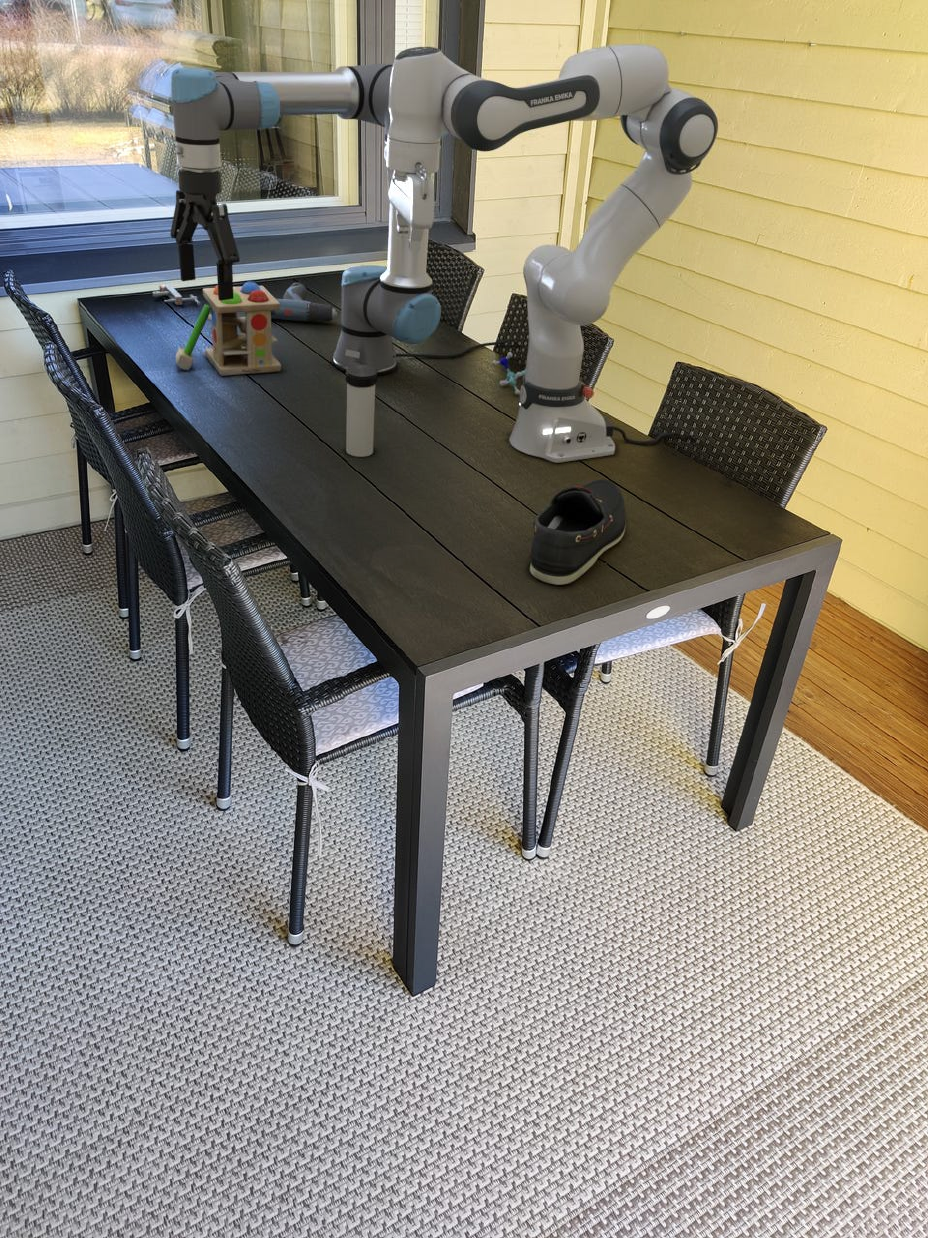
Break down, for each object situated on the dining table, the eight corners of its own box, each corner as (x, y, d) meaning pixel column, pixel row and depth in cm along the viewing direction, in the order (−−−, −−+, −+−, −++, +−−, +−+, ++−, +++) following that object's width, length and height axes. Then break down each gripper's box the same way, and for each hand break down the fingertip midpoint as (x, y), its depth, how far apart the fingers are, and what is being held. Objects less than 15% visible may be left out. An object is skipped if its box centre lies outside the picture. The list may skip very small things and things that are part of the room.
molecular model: (536, 387, 225) (523, 344, 224) (499, 400, 229) (485, 359, 227) (549, 385, 235) (536, 345, 234) (513, 399, 239) (500, 359, 238)
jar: (340, 451, 197) (341, 372, 188) (357, 442, 201) (359, 366, 192) (361, 459, 195) (363, 380, 186) (378, 450, 199) (381, 373, 189)
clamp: (148, 285, 268) (184, 283, 272) (149, 293, 269) (185, 291, 274) (164, 302, 257) (201, 299, 262) (164, 310, 259) (202, 307, 263)
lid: (339, 381, 189) (339, 370, 188) (359, 373, 193) (359, 363, 192) (363, 389, 186) (363, 379, 185) (383, 381, 190) (383, 371, 189)
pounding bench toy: (183, 379, 220) (176, 299, 210) (169, 357, 231) (162, 280, 221) (282, 371, 230) (280, 294, 220) (264, 350, 240) (262, 276, 230)
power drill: (344, 304, 276) (335, 327, 259) (277, 298, 275) (264, 321, 258) (344, 285, 273) (335, 306, 256) (277, 279, 272) (264, 300, 255)
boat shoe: (648, 521, 183) (657, 470, 178) (567, 591, 159) (574, 534, 154) (587, 503, 189) (593, 452, 184) (499, 567, 165) (504, 512, 160)
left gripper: (145, 155, 179) (155, 274, 191) (217, 183, 164) (224, 310, 176) (182, 153, 183) (190, 269, 195) (256, 180, 169) (260, 304, 181)
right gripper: (446, 171, 157) (439, 259, 165) (417, 147, 173) (413, 229, 181) (407, 169, 156) (403, 258, 163) (382, 145, 172) (379, 228, 180)
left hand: (206, 289), depth 186 cm, fingers open, 13 cm apart
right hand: (408, 243), depth 172 cm, fingers open, 8 cm apart
